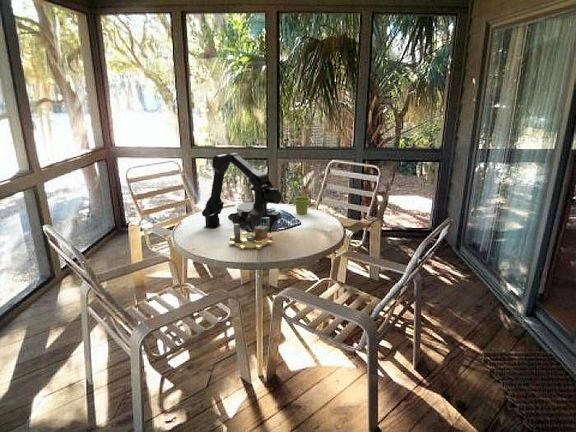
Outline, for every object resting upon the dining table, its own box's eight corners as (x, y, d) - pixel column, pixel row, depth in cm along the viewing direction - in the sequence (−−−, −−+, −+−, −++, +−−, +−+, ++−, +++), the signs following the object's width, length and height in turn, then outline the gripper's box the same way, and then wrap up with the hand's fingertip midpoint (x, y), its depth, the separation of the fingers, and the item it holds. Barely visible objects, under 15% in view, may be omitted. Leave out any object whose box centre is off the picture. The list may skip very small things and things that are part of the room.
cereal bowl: (265, 212, 230) (265, 201, 228) (268, 221, 214) (268, 209, 212) (236, 214, 228) (236, 202, 226) (237, 223, 212) (236, 210, 210)
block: (255, 237, 187) (255, 228, 186) (259, 234, 191) (258, 225, 190) (264, 238, 186) (263, 229, 184) (267, 235, 190) (267, 226, 188)
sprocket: (220, 246, 180) (219, 226, 177) (240, 231, 199) (240, 213, 196) (262, 252, 173) (262, 231, 170) (279, 236, 192) (279, 217, 189)
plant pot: (310, 215, 224) (310, 201, 222) (293, 215, 224) (293, 201, 222) (309, 210, 233) (309, 196, 230) (293, 210, 233) (293, 196, 231)
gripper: (234, 203, 179) (236, 235, 183) (272, 206, 173) (273, 239, 177) (245, 197, 189) (246, 227, 193) (281, 200, 183) (281, 231, 187)
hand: (261, 231), depth 188 cm, fingers open, 9 cm apart
